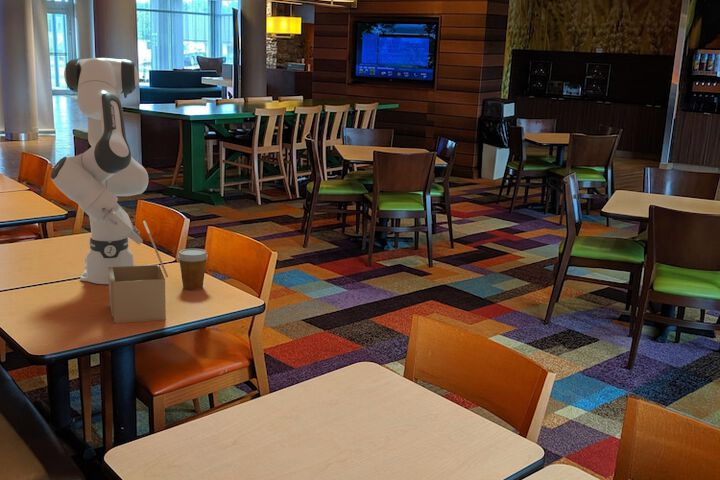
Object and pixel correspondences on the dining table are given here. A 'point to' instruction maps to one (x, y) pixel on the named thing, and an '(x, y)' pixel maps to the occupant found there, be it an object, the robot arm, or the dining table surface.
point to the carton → (137, 293)
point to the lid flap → (155, 249)
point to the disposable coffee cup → (192, 267)
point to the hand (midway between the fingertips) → (139, 238)
